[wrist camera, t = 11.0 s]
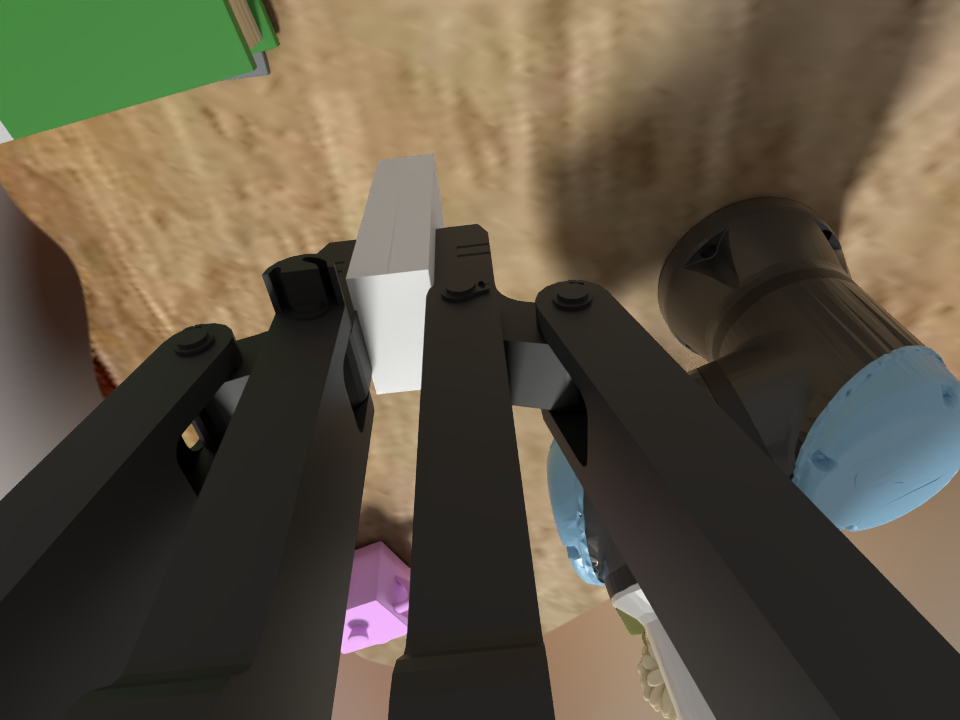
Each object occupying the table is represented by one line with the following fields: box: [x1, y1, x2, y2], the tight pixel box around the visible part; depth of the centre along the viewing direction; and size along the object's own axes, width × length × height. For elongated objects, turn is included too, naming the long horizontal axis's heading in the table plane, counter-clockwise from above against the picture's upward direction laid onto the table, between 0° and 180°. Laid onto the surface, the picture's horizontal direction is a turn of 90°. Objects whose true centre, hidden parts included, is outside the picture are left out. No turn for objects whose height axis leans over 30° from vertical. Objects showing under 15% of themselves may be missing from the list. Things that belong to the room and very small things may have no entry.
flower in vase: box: [616, 608, 678, 720], centre depth 62 cm, size 13×11×25 cm
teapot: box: [341, 541, 411, 654], centre depth 73 cm, size 18×14×10 cm
